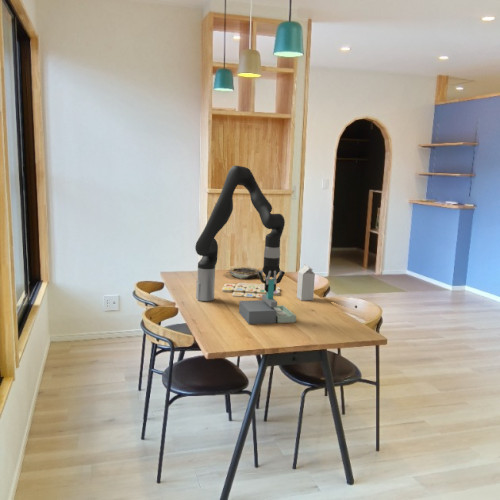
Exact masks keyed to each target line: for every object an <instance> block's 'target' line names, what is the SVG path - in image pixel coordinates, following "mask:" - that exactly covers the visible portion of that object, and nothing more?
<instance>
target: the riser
mask: <svg viewBox="0 0 500 500" xmlns="http://www.w3.org/2000/svg"><path fill="white" fill-rule="evenodd" d="M238 305H239V306H238V307H239V308H238V313H239V314H240V315H241V317H242V318H243V319H244V321H245V322H246V323H247V324H248V325H258V324H259V325H261V324H265V325H266V324H276V323H277V322H276V310H275V309H274V308H273V307H270V306H269V305H268V304H267V303H266V302H265V301H264V300H263V299H260V300H259V299H257V300H255V299H254V300H252V299H251V300H239V304H238Z"/></svg>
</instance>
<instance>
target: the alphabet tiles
mask: <svg viewBox="0 0 500 500" xmlns="http://www.w3.org/2000/svg"><path fill="white" fill-rule="evenodd" d="M221 292H222V293H229V294H230V293H231V296H232V297H234V298H242V297H243V298H245V299H247V298H249V299H254V298H256V299H260V300H263V299H262V295H263V294H267V292H266V291H265V284H264V283H260V284H259V283H251V282H250V283H247V282H237V284H236V283H224V285H223V287H222V288H221ZM280 293H281V287H279V286H276V291H275V292H274V293H273V297H277V296H280V295H281V294H280Z"/></svg>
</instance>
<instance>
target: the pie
mask: <svg viewBox="0 0 500 500" xmlns="http://www.w3.org/2000/svg"><path fill="white" fill-rule="evenodd" d="M257 271H261V270H259V269H257V268H255V267H245V266H244V267H232V268H230V269H229V270H228V272H226V273H227V274H228V273H229V274H230V275H232V276H233V278H235V277H236V279H240V280H251V279H256V278H259V276H258V273H257Z"/></svg>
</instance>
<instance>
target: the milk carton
mask: <svg viewBox="0 0 500 500" xmlns="http://www.w3.org/2000/svg"><path fill="white" fill-rule="evenodd" d="M315 277H316V273H315V272H313V268H312V267H310V266H309V265H307V264H306V263H305V264H304V266H303V267H301V268H300V269H299V270H298V273H297V284H296V285H297V286H296V298H297V299H298V300H300V301H314V294H315V293H314V292H315Z"/></svg>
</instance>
